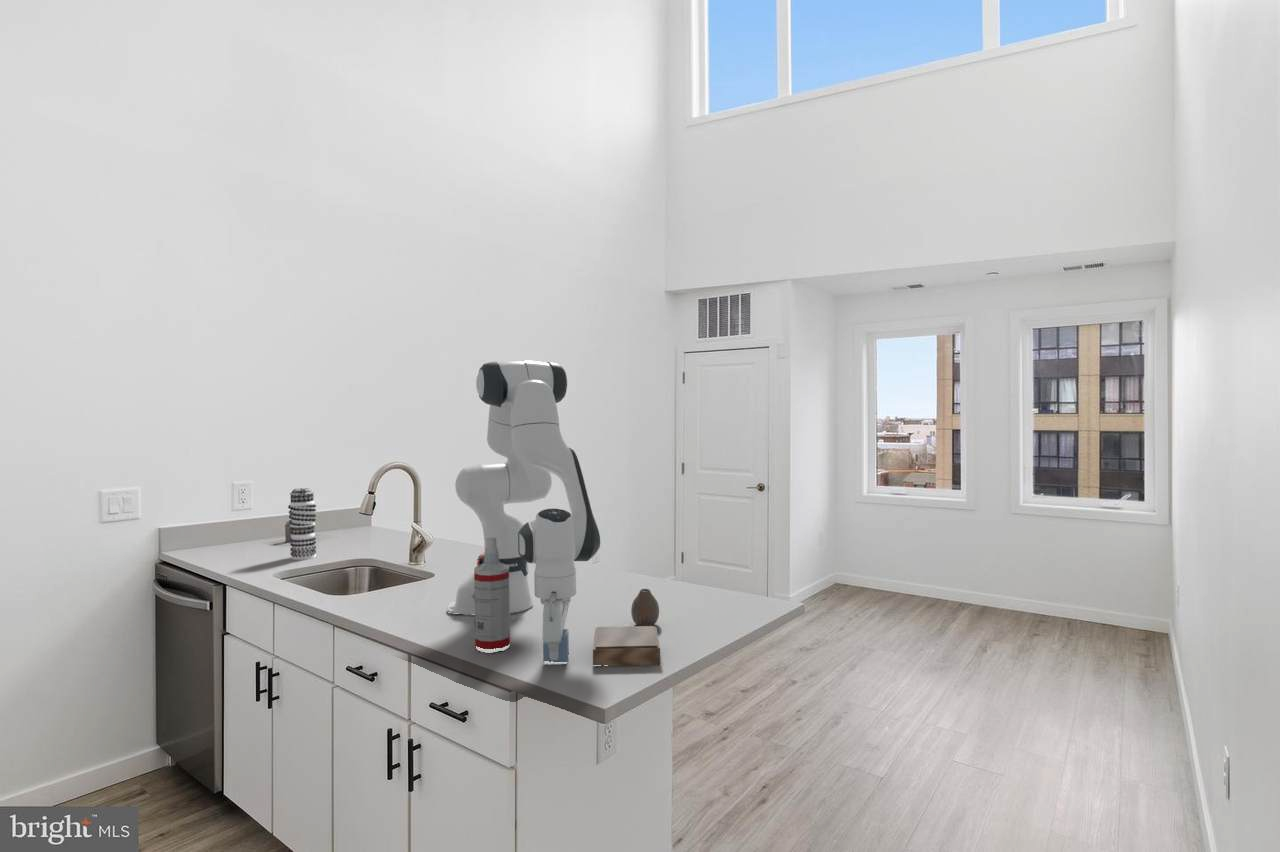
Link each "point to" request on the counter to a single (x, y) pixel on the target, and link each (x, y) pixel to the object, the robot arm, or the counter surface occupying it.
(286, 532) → the architectural model on board
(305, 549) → the decorative candle
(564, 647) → the slate block
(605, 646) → the walnut plinth
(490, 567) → the nozzle bottle
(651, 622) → the vase
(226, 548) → the counter surface
